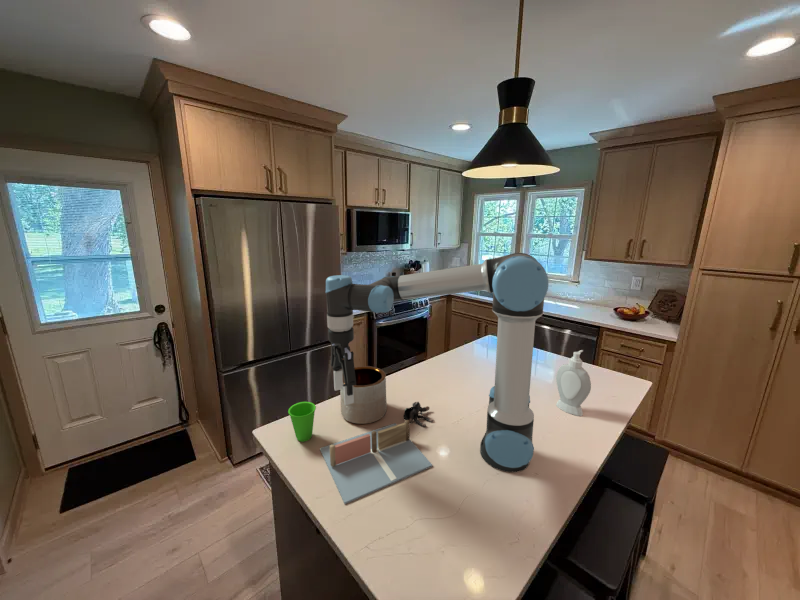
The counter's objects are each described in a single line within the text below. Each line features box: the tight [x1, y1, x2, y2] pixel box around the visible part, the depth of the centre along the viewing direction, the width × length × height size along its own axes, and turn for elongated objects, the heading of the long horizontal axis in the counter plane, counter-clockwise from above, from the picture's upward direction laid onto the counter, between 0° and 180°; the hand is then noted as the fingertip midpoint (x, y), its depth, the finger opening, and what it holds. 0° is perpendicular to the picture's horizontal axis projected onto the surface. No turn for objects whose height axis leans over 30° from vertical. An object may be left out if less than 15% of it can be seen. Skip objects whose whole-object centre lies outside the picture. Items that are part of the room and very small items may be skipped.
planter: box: [339, 365, 388, 425], centre depth 124 cm, size 18×18×16 cm
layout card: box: [319, 422, 433, 505], centre depth 101 cm, size 24×28×1 cm
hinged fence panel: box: [329, 434, 371, 467], centre depth 99 cm, size 13×2×6 cm, turn 119°
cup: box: [287, 401, 317, 443], centre depth 110 cm, size 9×9×11 cm
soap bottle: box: [555, 349, 592, 417], centre depth 125 cm, size 13×8×24 cm, turn 39°
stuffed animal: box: [402, 401, 435, 427], centre depth 124 cm, size 12×10×12 cm
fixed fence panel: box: [371, 420, 411, 453], centre depth 106 cm, size 2×14×8 cm, turn 119°
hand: (343, 396), depth 100 cm, fingers open, 9 cm apart
